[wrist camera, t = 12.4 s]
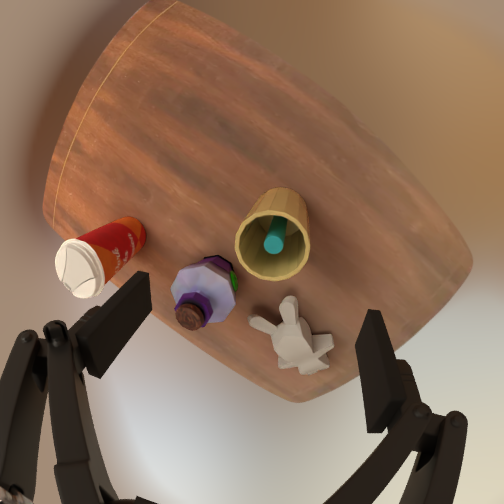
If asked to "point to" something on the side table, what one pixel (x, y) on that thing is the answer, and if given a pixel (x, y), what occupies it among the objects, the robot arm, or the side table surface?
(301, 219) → the can
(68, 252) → the paper cup
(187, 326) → the potion bottle
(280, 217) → the teal cylinder rod
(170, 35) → the side table surface
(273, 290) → the side table surface
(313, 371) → the bunny figurine
